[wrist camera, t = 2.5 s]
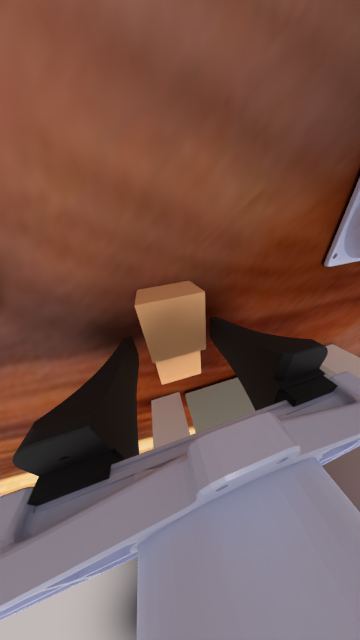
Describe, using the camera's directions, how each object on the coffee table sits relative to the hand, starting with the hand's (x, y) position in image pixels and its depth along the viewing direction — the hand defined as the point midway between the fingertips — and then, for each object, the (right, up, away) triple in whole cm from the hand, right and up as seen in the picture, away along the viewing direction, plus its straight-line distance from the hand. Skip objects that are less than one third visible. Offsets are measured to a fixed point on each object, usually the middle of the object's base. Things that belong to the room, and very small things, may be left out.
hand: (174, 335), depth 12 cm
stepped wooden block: (0, 0, +2) cm, 2 cm away
